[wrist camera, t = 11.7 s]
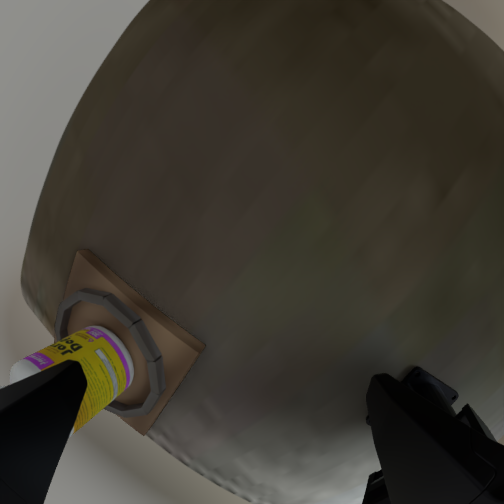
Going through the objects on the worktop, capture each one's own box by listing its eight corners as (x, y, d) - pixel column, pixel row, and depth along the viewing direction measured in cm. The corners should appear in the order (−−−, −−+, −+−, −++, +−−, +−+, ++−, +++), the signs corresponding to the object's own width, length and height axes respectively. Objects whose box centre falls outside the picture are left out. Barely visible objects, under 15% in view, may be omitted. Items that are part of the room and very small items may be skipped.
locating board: (206, 345, 22) (193, 360, 19) (150, 428, 25) (138, 442, 22) (88, 248, 23) (67, 252, 21) (60, 347, 26) (45, 355, 24)
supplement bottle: (118, 317, 22) (-3, 381, 9) (148, 385, 22) (55, 473, 9) (74, 327, 23) (-26, 376, 11) (101, 387, 23) (16, 451, 11)
